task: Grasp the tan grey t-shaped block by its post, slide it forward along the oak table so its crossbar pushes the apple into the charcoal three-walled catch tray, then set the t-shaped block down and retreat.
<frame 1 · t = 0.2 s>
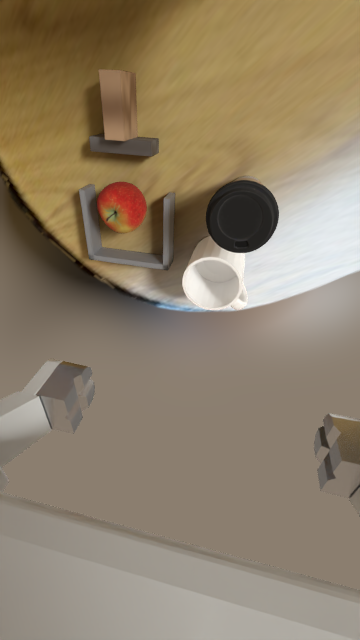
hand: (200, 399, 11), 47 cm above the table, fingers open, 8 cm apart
mug: (223, 262, 59), on the table
tan grey t-shaped block: (127, 106, 47), on the table
catch tray: (133, 224, 58), on the table
coffee cup: (245, 193, 51), on the table
apple: (132, 199, 55), on the table
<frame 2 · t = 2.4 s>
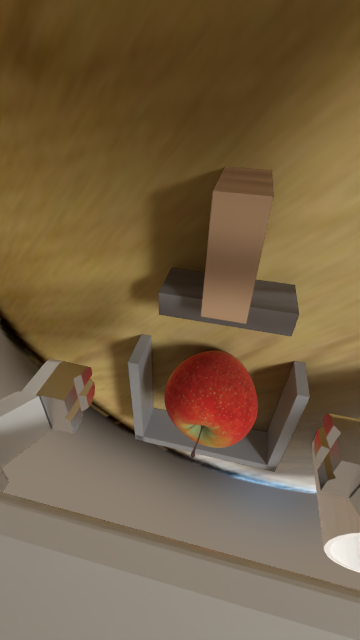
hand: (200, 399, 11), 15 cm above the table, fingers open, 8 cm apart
tan grey t-shaped block: (238, 228, 22), on the table
catch tray: (213, 391, 34), on the table
apple: (218, 361, 31), on the table
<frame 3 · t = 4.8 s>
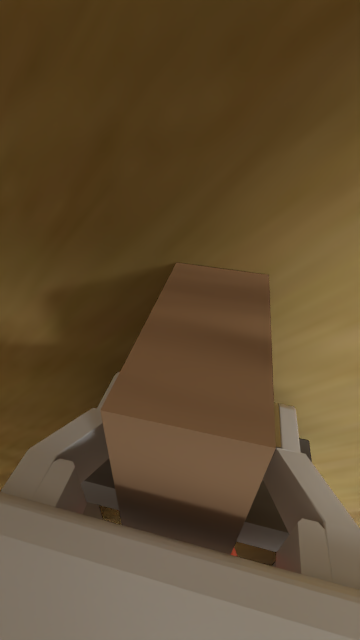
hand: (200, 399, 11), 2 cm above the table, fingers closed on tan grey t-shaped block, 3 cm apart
tan grey t-shaped block: (209, 358, 12), on the table, touching gripper
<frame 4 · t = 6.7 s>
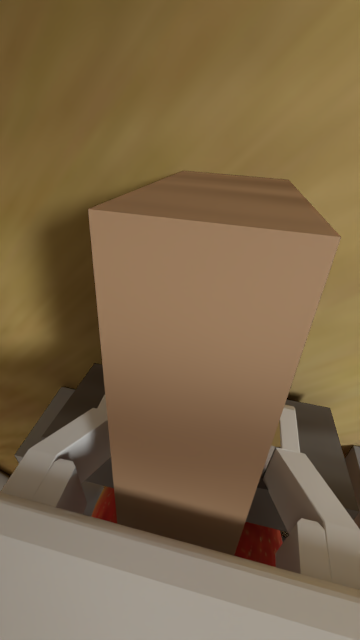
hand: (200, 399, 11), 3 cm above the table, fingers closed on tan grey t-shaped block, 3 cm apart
tan grey t-shaped block: (217, 299, 11), on the table, tilted 6°, touching apple, gripper
catch tray: (197, 478, 19), on the table
apple: (204, 439, 17), on the table, touching tan grey t-shaped block
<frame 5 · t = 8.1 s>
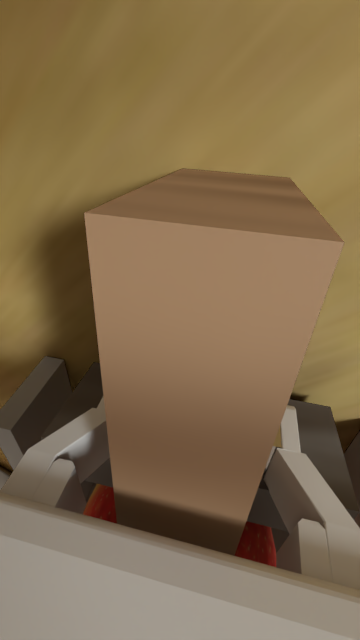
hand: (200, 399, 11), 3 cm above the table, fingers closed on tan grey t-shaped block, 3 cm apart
tan grey t-shaped block: (217, 299, 11), on the table, touching apple, gripper
catch tray: (194, 461, 18), on the table
apple: (196, 440, 17), on the table, touching tan grey t-shaped block
when the fingers open (2 cm above the table, at t = 9.3 s): tan grey t-shaped block stays where it is, on the table.
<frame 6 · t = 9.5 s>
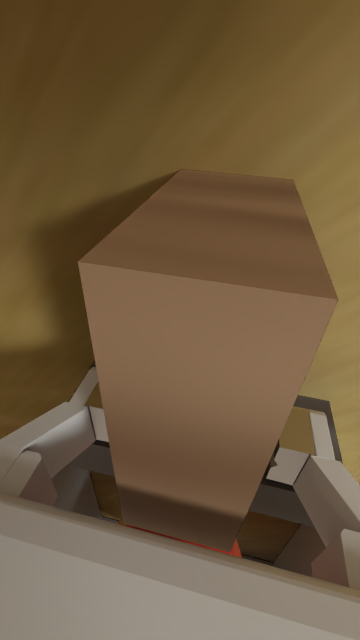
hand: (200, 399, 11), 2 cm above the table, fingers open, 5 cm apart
tan grey t-shaped block: (217, 298, 11), on the table
catch tray: (187, 509, 21), on the table
apple: (189, 494, 20), on the table
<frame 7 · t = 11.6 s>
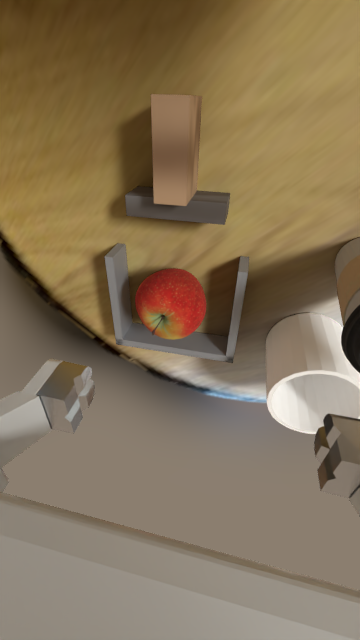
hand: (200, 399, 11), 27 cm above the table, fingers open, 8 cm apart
mug: (311, 347, 41), on the table
tan grey t-shaped block: (184, 146, 30), on the table
catch tray: (180, 296, 40), on the table
apple: (180, 283, 39), on the table
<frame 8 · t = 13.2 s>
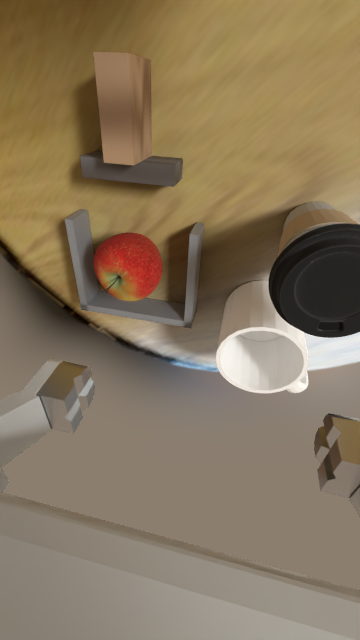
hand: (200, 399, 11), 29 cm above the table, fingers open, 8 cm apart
mug: (267, 316, 42), on the table
tan grey t-shaped block: (137, 110, 31), on the table
catch tray: (142, 263, 41), on the table
coffee cup: (310, 226, 34), on the table
apple: (141, 250, 41), on the table
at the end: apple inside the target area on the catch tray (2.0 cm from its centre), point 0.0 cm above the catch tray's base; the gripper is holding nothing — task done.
